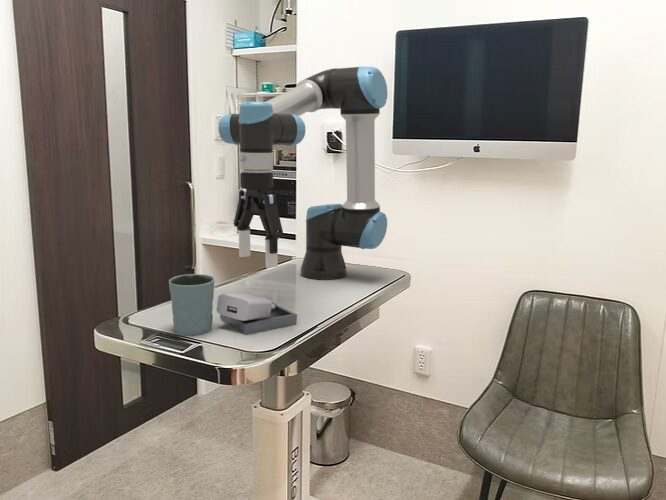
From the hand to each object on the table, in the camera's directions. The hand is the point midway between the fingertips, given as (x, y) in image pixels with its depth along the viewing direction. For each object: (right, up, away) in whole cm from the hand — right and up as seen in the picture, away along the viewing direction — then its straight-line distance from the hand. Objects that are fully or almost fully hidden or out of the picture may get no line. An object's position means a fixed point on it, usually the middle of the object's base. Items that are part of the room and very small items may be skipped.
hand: (257, 261), depth 131 cm
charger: (-2, -13, +2) cm, 13 cm away
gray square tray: (0, -15, +3) cm, 15 cm away
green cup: (-14, -16, -4) cm, 22 cm away
